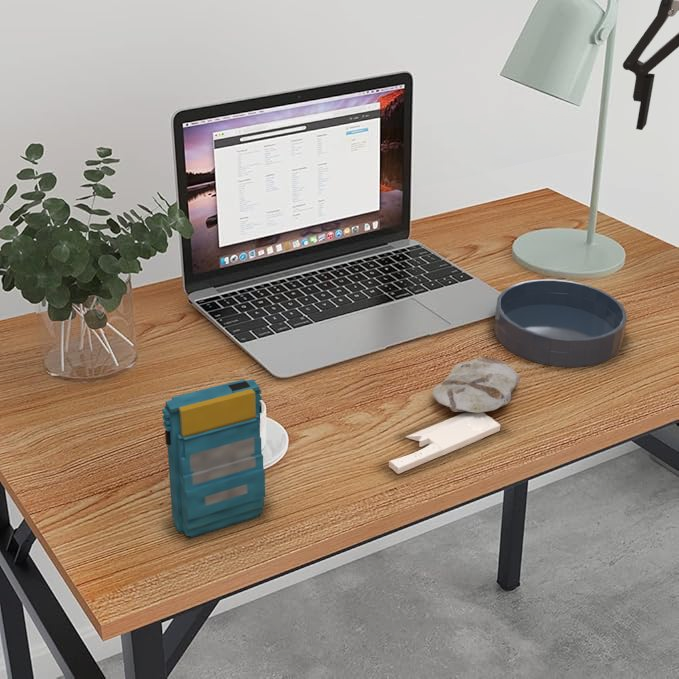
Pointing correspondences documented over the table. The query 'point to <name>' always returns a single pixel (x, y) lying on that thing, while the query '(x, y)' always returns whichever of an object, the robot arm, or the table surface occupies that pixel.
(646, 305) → the table surface
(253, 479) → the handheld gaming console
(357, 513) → the table surface
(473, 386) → the stone
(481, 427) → the white plastic strip tool
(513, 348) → the bowl
